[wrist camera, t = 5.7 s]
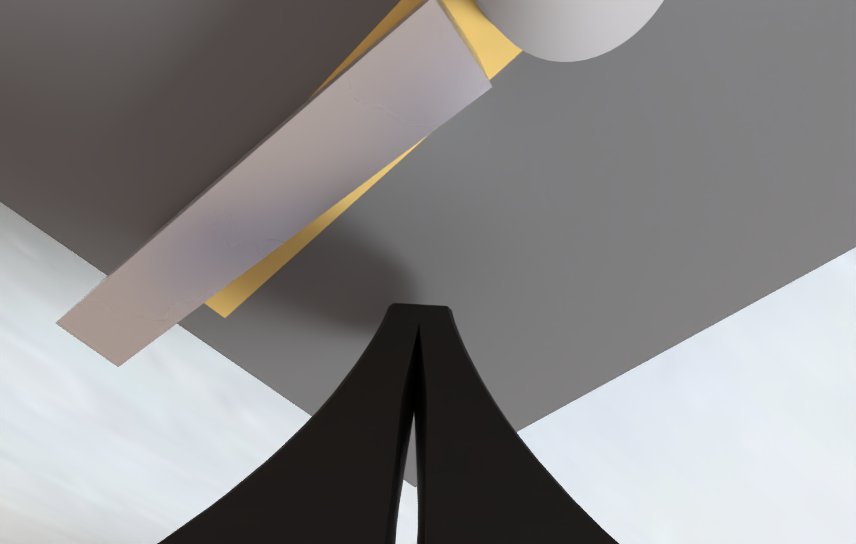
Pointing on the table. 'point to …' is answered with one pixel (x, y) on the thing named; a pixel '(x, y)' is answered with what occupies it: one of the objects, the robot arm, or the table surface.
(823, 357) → the table surface
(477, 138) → the mat
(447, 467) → the robot arm
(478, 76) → the hinge leaf
